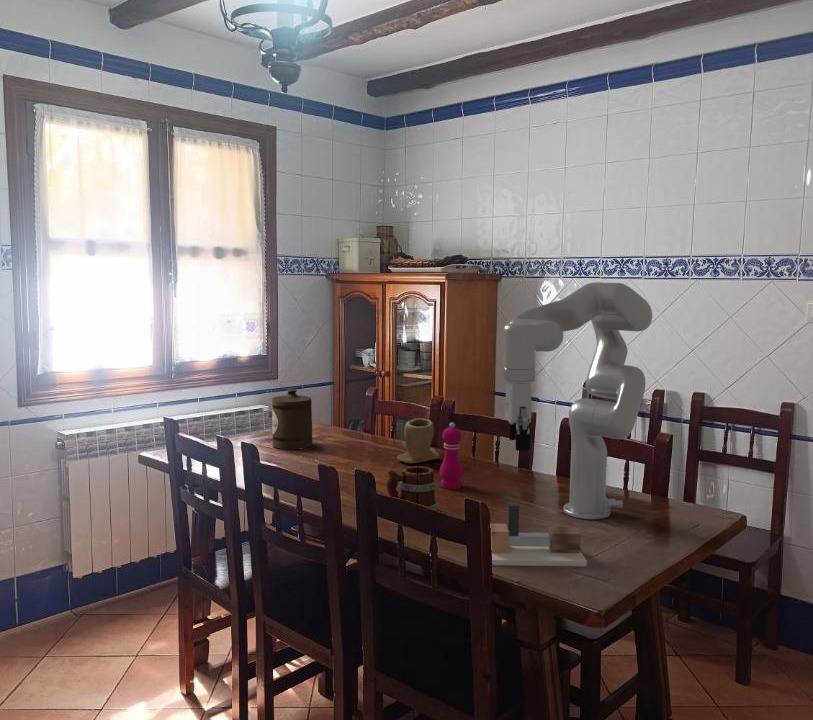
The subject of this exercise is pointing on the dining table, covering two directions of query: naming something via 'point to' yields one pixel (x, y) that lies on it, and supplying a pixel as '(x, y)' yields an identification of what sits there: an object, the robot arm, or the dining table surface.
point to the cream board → (537, 557)
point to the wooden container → (292, 421)
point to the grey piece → (523, 538)
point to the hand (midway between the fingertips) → (519, 444)
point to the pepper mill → (451, 458)
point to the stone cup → (418, 441)
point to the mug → (414, 485)
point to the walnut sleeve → (564, 540)
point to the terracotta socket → (499, 538)
